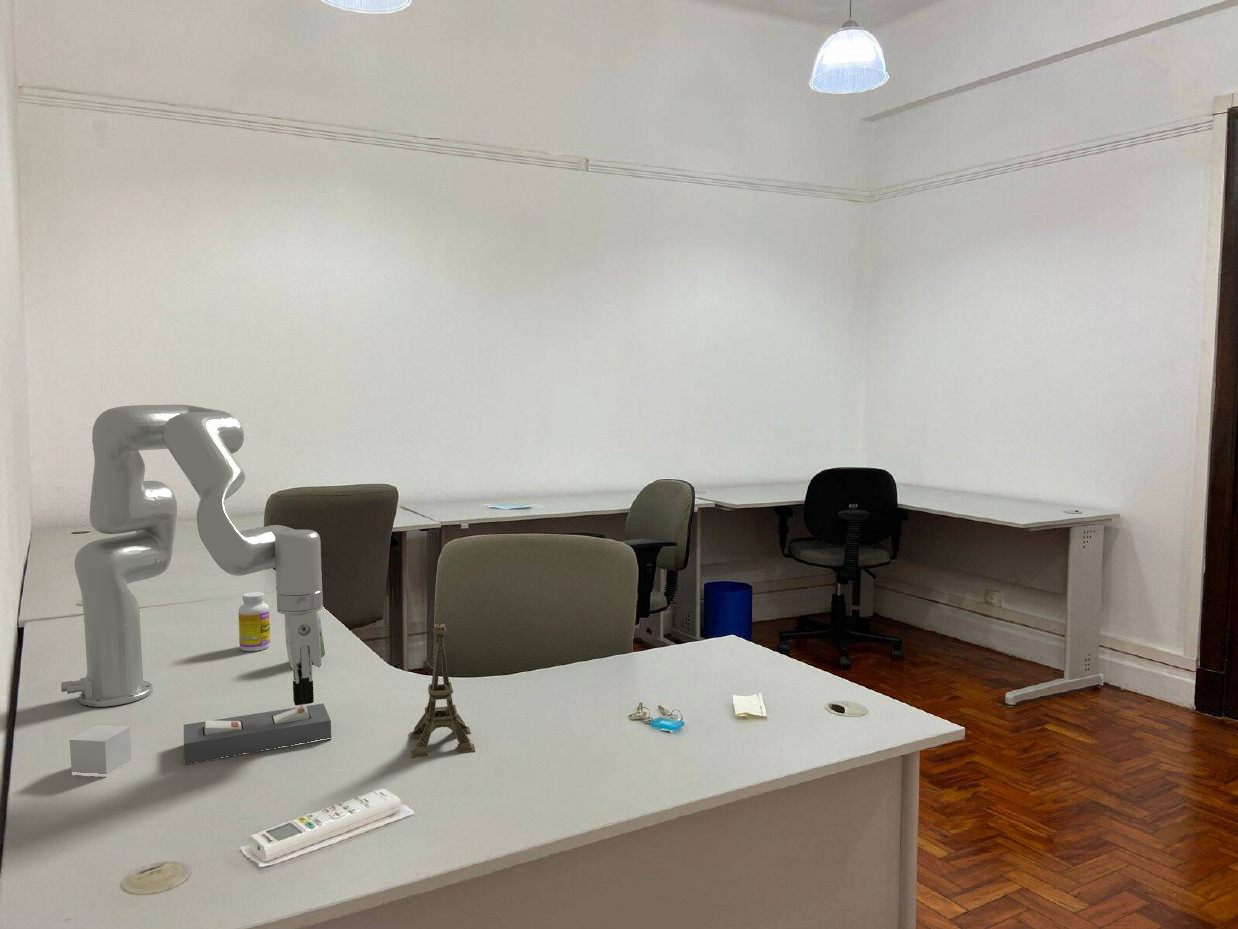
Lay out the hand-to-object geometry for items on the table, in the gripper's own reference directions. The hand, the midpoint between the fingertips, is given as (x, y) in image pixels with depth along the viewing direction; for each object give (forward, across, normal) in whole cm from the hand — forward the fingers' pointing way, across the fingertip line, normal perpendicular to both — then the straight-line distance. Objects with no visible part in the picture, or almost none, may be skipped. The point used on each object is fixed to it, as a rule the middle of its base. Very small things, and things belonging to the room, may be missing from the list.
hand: (303, 702), depth 155 cm
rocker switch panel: (+6, +4, +8) cm, 10 cm away
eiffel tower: (+6, -14, -21) cm, 26 cm away
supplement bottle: (+6, +58, +4) cm, 59 cm away
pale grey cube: (+6, 0, +31) cm, 32 cm away
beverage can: (+6, +42, -6) cm, 43 cm away
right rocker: (+2, 0, +2) cm, 3 cm away
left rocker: (+2, 0, +13) cm, 13 cm away
